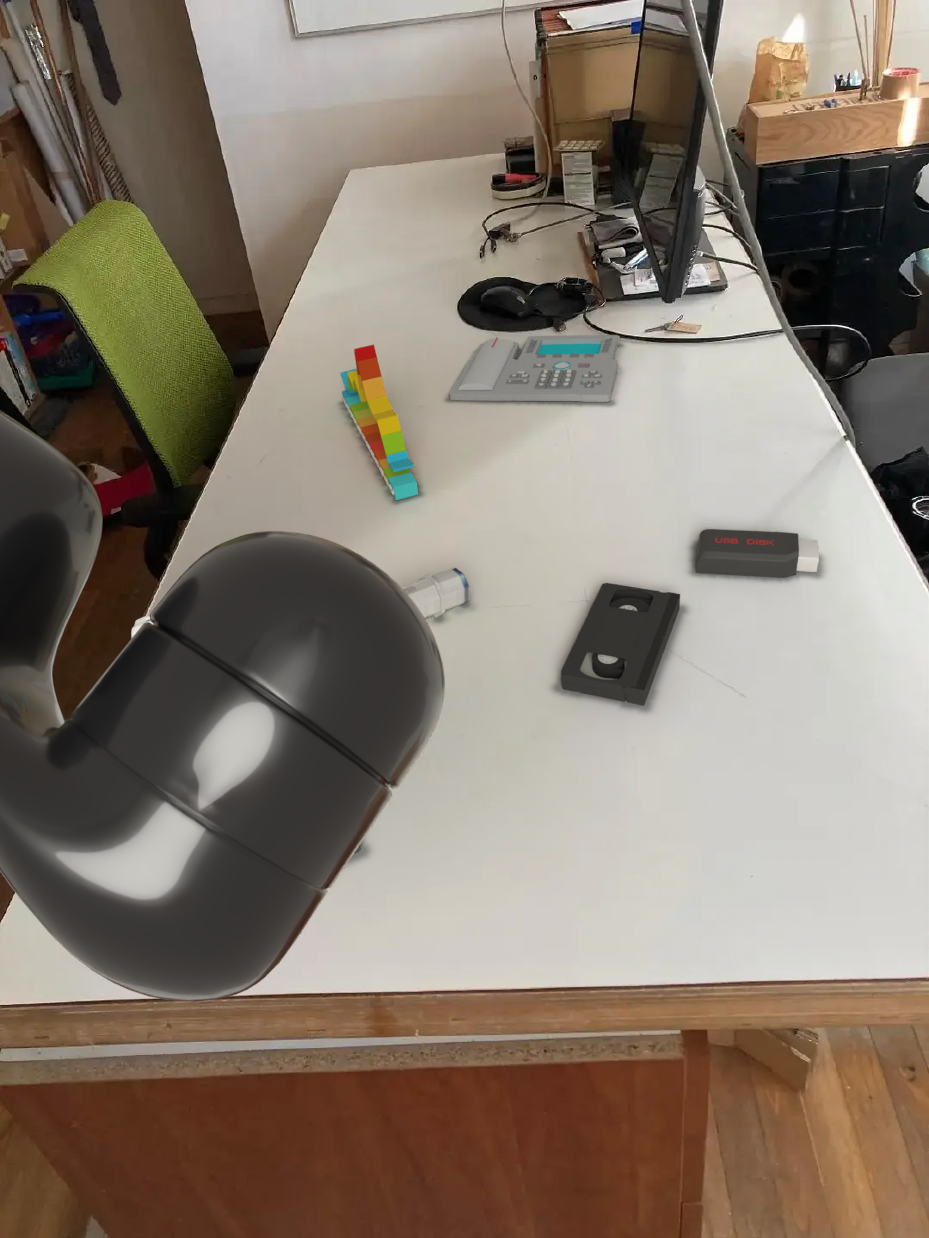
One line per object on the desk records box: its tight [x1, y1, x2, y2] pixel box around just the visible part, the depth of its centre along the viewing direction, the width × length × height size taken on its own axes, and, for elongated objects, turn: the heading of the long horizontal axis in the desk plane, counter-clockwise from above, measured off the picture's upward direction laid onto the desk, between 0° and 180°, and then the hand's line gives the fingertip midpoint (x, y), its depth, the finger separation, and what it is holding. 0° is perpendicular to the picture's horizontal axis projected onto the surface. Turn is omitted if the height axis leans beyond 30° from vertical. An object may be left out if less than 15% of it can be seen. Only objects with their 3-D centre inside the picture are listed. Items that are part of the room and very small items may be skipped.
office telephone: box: [448, 334, 621, 403], centre depth 139 cm, size 23×3×20 cm
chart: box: [339, 344, 419, 501], centre depth 122 cm, size 30×3×15 cm, turn 18°
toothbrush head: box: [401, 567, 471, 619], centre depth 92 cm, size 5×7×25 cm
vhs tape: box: [560, 582, 681, 707], centre depth 89 cm, size 14×8×2 cm, turn 157°
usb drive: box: [695, 528, 820, 579], centre depth 97 cm, size 5×12×3 cm, turn 76°
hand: (262, 758), depth 54 cm, fingers closed
